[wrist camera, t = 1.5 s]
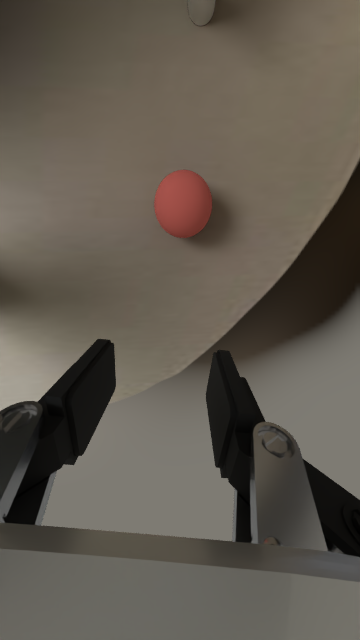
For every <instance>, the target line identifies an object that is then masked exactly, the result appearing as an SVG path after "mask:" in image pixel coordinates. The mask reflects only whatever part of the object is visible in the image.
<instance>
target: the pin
mask: <svg viewBox="0 0 360 640" xmlns="http://www.w3.org/2000/svg"><path fill="white" fill-rule="evenodd" d="M215 1H216V0H188V13H189V16H190V19H191V20H192V22H193V23H194V24H196V25H198V26H203V25H205V24H207V23H208V22H209V21H210V19H211V18H212V16H213V13H214V9H215Z"/></svg>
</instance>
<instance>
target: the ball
mask: <svg viewBox="0 0 360 640" xmlns="http://www.w3.org/2000/svg"><path fill="white" fill-rule="evenodd" d="M154 207H155V213H156V217H157V219H158V221H159V223H160V225H161V226H162V228H163V229H164V230H165V231H166V232H167V233H169V234H171V235H173V236H175V237H179V238H187V237H191V236H194V235H195V234H197V233H199V232H200V231H201V230H202V229H203V228H204V227H205V225H206V224H207V222H208V220H209V218H210V215H211V211H212V196H211V192H210V190H209V187H208V185H207V183H206V182H205V181H204V179H203V178H202V177H201V176H199V175H198V174H196V173H195V172H192V171H189V170H178V171H175V172H173V173H171V174H169V175H168V176H166V177H165V178H164V179H163V181H162V182H161V183H160V185H159V187H158V189H157V192H156V195H155V202H154Z"/></svg>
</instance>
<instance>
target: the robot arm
mask: <svg viewBox="0 0 360 640" xmlns="http://www.w3.org/2000/svg"><path fill="white" fill-rule="evenodd" d="M115 387H116V377H115V355H114V343H111V341H110V340H105V339H98V340H96V342H95V343H94V344H93V345H92V346H91V347H90V348H89V349H88V350H87V351H86V352H85V353H84V354H83V355H82V356H81V357H80V359H79V360H78V361H77V362H76V363H74V364H73V365H72V366H71V367H70V368H69V369H68V370H67V371H66V373H65V374H64V375H63V376H62V377H61V378H60V379H59V380H58V381H57V382H56V383H55V384H54V385H53V386H52V387H51V388H50V389H49V390H48V391H47V393H46V394H45V395H44V396H43V397H42V398H41V399H40V400H39V401H38V402H35V401H25V402H20V403H16V404H14V405H11V406H9V407H7V408H5V409H3V410H1V411H0V640H360V500H359V499H357V498H356V497H355V496H353V495H352V494H351V493H349V492H348V491H346V490H345V489H344V488H342V487H341V486H340V485H338V484H337V483H335V482H334V481H333V480H331V479H330V478H329V477H327V476H326V475H324V474H323V473H322V472H320V471H319V470H318V469H316V468H315V467H313V466H312V465H311V464H309V463H308V462H307V461H305V460H304V459H303V458H302V455H301V452H300V448H299V446H298V444H297V442H296V440H295V439H294V438H293V436H292V435H291V434H290V433H289V432H287V431H286V430H285V429H283V428H282V427H280V426H279V425H276V424H274V423H270V422H265V420H264V417H263V415H262V413H261V411H260V409H259V406H258V405H257V402H256V400H255V398H254V396H253V393H252V391H251V389H250V387H249V385H248V383H247V380H246V379H245V378H244V377H240V376H239V373H238V371H237V369H236V366H235V364H234V361H233V359H232V357H231V354H230V352H229V351H224V350H218V351H217V353H216V352H214V354H213V358H212V364H211V369H210V375H209V380H208V385H207V392H206V402H207V408H208V416H209V424H210V431H211V438H212V445H213V452H214V459H215V466H216V467H218V468H220V471H221V478H228V480H229V483H230V484H231V485H232V486H233V487H234V488H235V489H234V490H235V491H234V510H233V532H232V541H220V540H209V539H197V538H186V537H175V536H163V535H151V534H139V533H126V532H115V531H102V530H90V529H77V528H65V527H53V526H41V524H42V520H43V517H44V514H45V510H46V507H47V503H48V500H49V496H50V493H51V490H52V486H53V483H54V479H55V476H56V471H57V470H59V469H60V468H61V467H62V466H63V464H68V465H74V464H75V462H76V460H77V458H78V456H82V455H83V454H84V452H85V450H86V448H87V446H88V444H89V442H90V440H91V437H92V436H93V434H94V432H95V429H96V427H97V425H98V423H99V421H100V419H101V417H102V415H103V413H104V411H105V409H106V407H107V405H108V403H109V401H110V399H111V397H112V395H113V393H114V390H115Z"/></svg>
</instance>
